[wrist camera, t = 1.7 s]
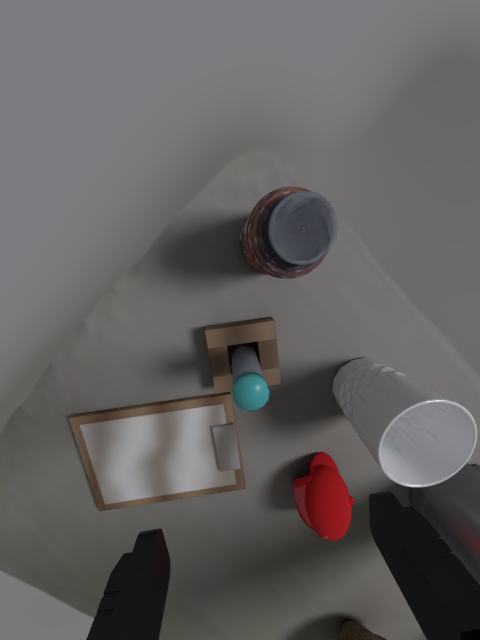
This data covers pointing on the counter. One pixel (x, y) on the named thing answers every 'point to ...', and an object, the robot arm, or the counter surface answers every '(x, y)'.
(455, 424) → the white cup
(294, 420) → the counter surface
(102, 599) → the robot arm
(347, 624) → the natural sponge
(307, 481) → the cap
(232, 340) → the marker stand
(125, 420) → the clipboard
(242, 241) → the supplement bottle
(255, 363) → the marker
